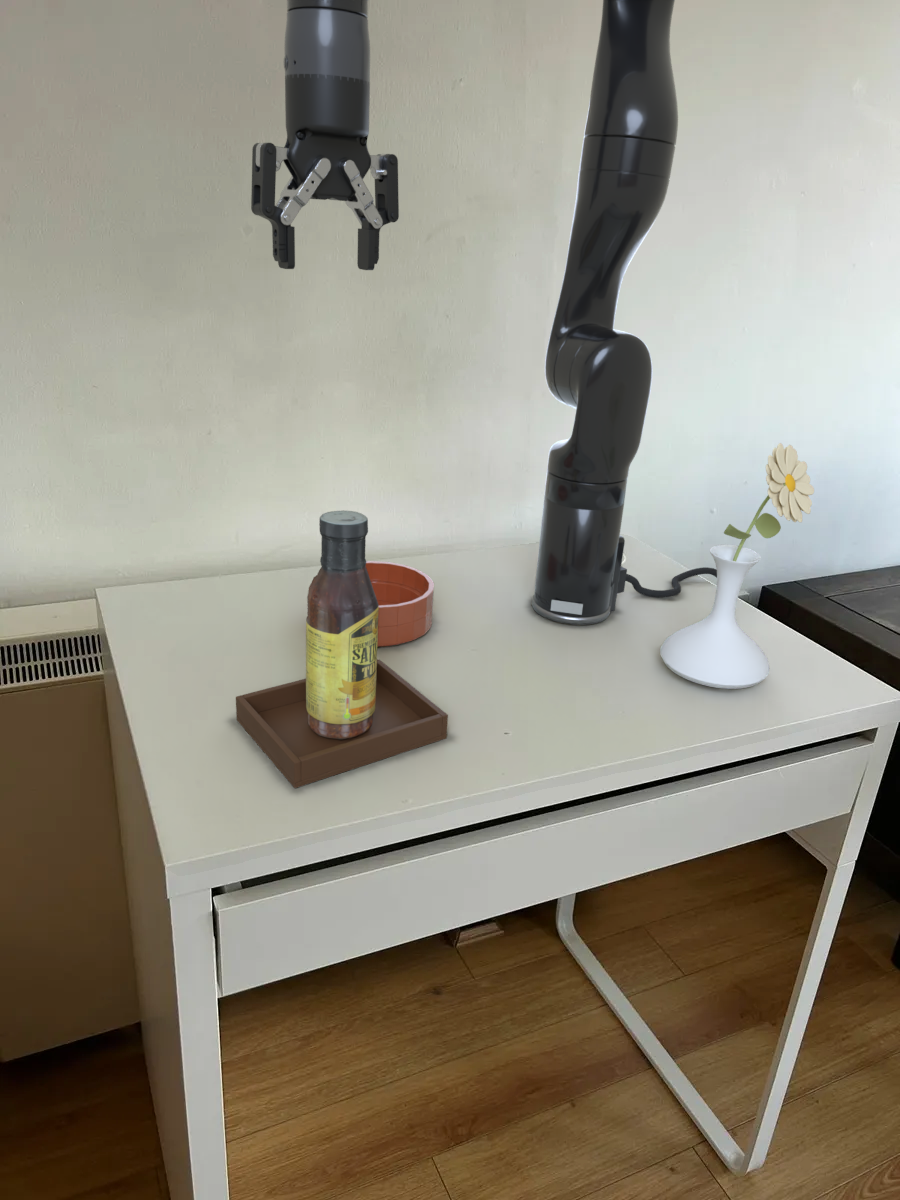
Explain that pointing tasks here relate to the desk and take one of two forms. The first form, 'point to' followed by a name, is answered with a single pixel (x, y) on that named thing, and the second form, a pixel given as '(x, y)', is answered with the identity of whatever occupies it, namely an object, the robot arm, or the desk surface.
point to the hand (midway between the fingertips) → (327, 269)
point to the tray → (310, 757)
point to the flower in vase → (738, 590)
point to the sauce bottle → (341, 632)
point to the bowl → (401, 601)
